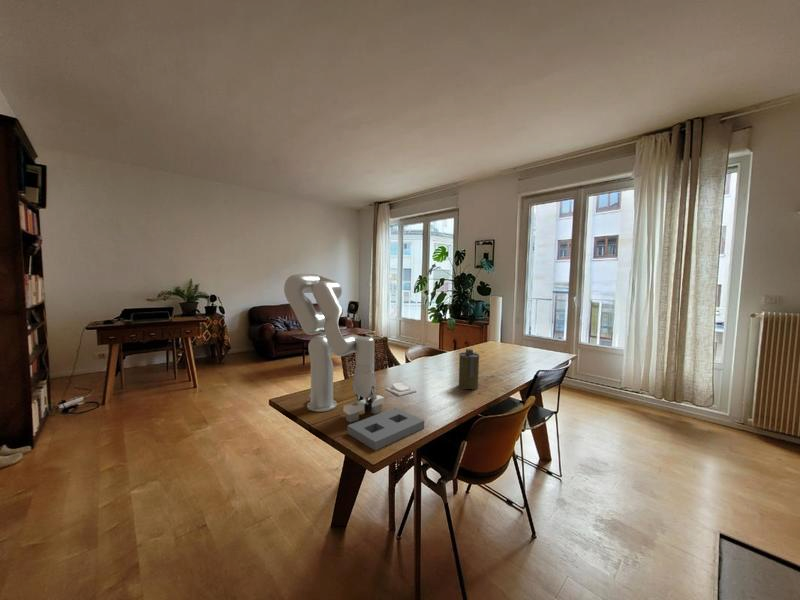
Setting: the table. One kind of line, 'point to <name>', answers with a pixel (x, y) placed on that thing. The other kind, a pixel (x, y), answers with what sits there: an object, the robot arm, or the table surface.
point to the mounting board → (385, 428)
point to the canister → (468, 370)
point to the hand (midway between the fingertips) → (364, 410)
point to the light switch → (400, 389)
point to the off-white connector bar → (362, 408)
